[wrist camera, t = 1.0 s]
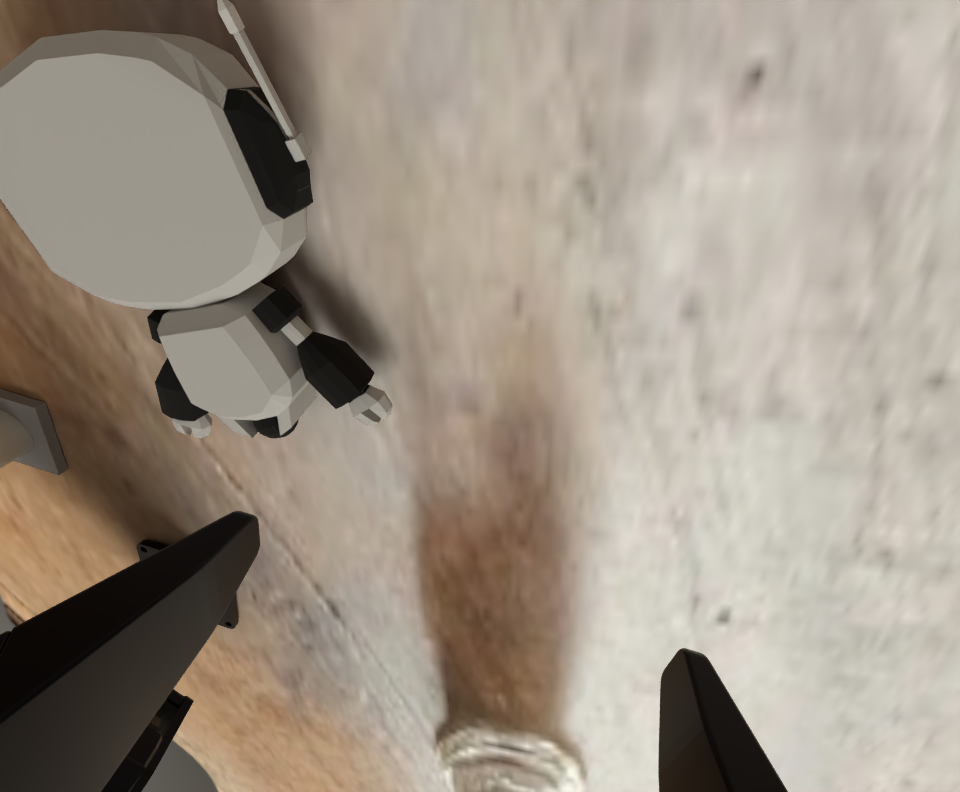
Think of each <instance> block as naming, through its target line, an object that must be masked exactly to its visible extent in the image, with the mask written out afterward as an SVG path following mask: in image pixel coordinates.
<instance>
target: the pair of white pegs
mask: <svg viewBox="0 0 960 792" xmlns="http://www.w3.org/2000/svg"><path fill="white" fill-rule="evenodd" d="M12 461H16V462H19V463H22V464H25V465H29V466H32V467H35V468H38V469H41V470H44V471H48V472H51V473H54V474H57V475H60V474H61V473H63V472H64V471H66V470H67V469H68V468H67V465H66V462H65V459H64V456H63V453H62V450H61V447H60V444H59V441H58V438H57V435H56V432H55V429H54V426H53V423H52V420H51V417H50V414H49V412H48V409H47V406H46V403H45V402H42V401H38V400H35V399H32V398H29V397H25V396H22V395H19V394H16V393H12V392H9V391H6V390H3V389H0V468H2V467H4V466H5V465H7V464H8V463H10V462H12Z"/></svg>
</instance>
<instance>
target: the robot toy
mask: <svg viewBox="0 0 960 792" xmlns="http://www.w3.org/2000/svg"><path fill="white" fill-rule="evenodd" d="M217 4H218V12H219V14H220V16H221V18H222V20H223V22H224V24H225V26H226V27H227V29H228V31H229V33H230V34H233V35H234V37H235V39H236V41H237V43H238V45H239V47H240V49H241V51H242V52H243V54H244V56H245V58H246V60H247V62H248V64H249V66H250V67H251V69H252V71H253V73H254V75H255V77H256V79H257V81H258V83H259V84H260V86H261V87H259V86H258V85H257V84H256V82H255V81H254V80H253V79H252V78H251V76H250V75H249V74H248V73H247V72H246V70H245V69H244V68H243V67H242V66H241V65H240V63H239V62H238V61H237V60H236V59H235V57H234V56H233V55H232V54H230V53H228V52H226V51H224V50H222V49H220V48H218V47H216V46H214V45H212V44H210V43H208V42H206V41H204V40H202V39H200V38H195V37H191V36H186V35H181V34H164V33H147V32H129V31H111V30H97V31H89V32H81V33H73V34H65V35H57V36H49V37H41V38H39V39H38V40H37V41H36V42H34V43H33V44H32V45H31V46H29V47H28V48H27V49H26V50H24V51H23V52H22V53H21V54H19V55H18V56H17V57H16V58H14V59H13V60H12V61H11V62H9V63H8V64H7V65H6V66H4V67H3V68H2V69H1V70H0V200H1V201H2V203H3V204H4V206H5V207H6V208H7V210H8V211H9V213H10V214H11V215H12V217H13V218H14V220H15V221H16V222H17V224H18V225H19V227H20V228H21V229H22V231H23V232H24V234H25V235H26V236H27V238H28V239H29V241H30V242H31V243H32V245H33V246H34V248H35V249H36V250H37V252H38V253H39V255H40V256H41V257H42V258H43V260H44V261H45V262H46V264H47V265H48V267H49V268H50V269H51V271H52V272H54V273H55V274H57V275H59V276H61V277H62V278H64V279H66V280H67V281H69V282H71V283H73V284H74V285H76V286H78V287H80V288H81V289H83V290H85V291H87V292H89V293H90V294H92V295H95V296H97V297H100V298H102V299H105V300H107V301H109V302H112V303H116V304H120V305H124V306H129V307H136V308H143V309H151V310H154V311H153V312H152V313H151V314H150V315H149V316H148V317H147V318H148V323H149V327H150V331H151V335H152V339H153V340H155V341H157V342H158V343H161V344H162V345H163V348H164V350H165V353H166V355H167V357H168V358H167V360H166V362H165V363H164V365H163V367H162V369H161V371H160V373H159V375H158V377H157V379H156V381H155V384H156V389H157V393H158V397H159V401H160V405H161V409H162V412H163V413H164V414H166V415H167V416H169V417H170V418H172V420H171V421H172V422H173V424H174V426H175V428H176V430H177V431H179V432H181V433H183V434H187V435H190V434H191V432H193V434H194V437H197V438H203V437H205V436H208V435H210V431H211V426H212V419H211V417H210V416H209V415H208V414H207V413H209V412H210V413H212V414H214V415H216V416H218V417H219V418H220V419H221V420H222V421H223V422H224V423H225V424H226V425H227V426H228V427H229V428H230V429H231V430H232V431H233V432H235V433H238V434H241V435H244V436H248V437H251V438H253V437H254V436H255V434H256V433H257V432H259V433H260V434H262V435H264V436H267V437H269V438H280V437H285V436H287V435H289V434H290V433H291V432H292V431H294V429H295V427H296V425H297V423H298V420H299V418H300V417H301V415H302V414H303V413H304V412H305V410H306V409H307V408H308V407H309V405H310V404H311V403H312V402H313V401H314V399H315V398H316V390H317V391H318V392H319V393H320V394H321V395H322V396H323V397H324V398H325V399H326V400H327V401H328V402H329V403H330V404H331V405H332V406H333V407H334V408H335V409H337V408H339V407H341V406H343V405H345V404H346V403H349V406H350V409H351V411H352V414H353V417H354V418H356V419H357V420H359V421H360V422H362V423H364V424H365V425H376V424H377V423H379V421H380V419H383V420H384V419H386V418H388V417H389V415H390V414H391V411H392V403H391V401H390V400H389V398H388V397H387V395H386V393H385V392H384V391H382V390H380V389H377V388H375V387H373V386H370V385H367V384H368V383H369V382H370V381H371V379H372V377H373V375H374V371H373V370H372V369H371V368H370V367H369V366H368V365H367V364H366V363H365V362H364V361H363V360H362V359H361V358H360V357H359V356H358V354H357V353H356V352H355V351H354V350H353V349H352V348H351V347H350V346H349V345H348V344H347V343H346V342H344V341H341V340H338V339H335V338H333V337H330V336H327V335H324V334H320V333H317V332H313V331H312V330H311V329H310V328H309V327H308V326H307V325H306V324H305V323H304V322H303V321H302V320H301V319H300V318H299V317H298V316H297V315H298V314H299V313H301V308H302V305H301V304H300V303H299V302H298V301H297V300H296V298H295V297H294V296H293V295H292V294H291V293H290V292H289V291H288V290H287V289H286V288H285V287H284V286H283V285H282V286H281V287H279V288H278V289H276V290H275V289H273V288H271V287H269V286H267V285H265V284H263V283H261V282H259V281H261V280H262V279H264V278H265V277H267V276H268V275H270V274H271V273H273V272H274V271H275V270H277V269H278V268H280V267H281V266H283V265H284V264H286V263H287V262H288V261H289V260H290V259H291V258H293V257H294V256H295V254H296V253H297V251H298V249H299V248H300V246H301V245H302V243H303V241H304V240H305V238H306V237H307V206H308V205H310V204H311V203H312V202H313V198H312V191H311V184H310V170H309V167H308V165H307V162H306V158H307V157H308V156H309V155H310V153H311V150H310V148H309V146H308V144H307V142H306V140H305V138H304V136H303V134H302V132H299V133H297V132H296V130H295V128H294V126H293V124H292V123H291V121H290V119H289V117H288V115H287V113H286V111H285V109H284V107H283V105H282V103H281V101H280V99H279V97H278V95H277V93H276V91H275V90H274V88H273V86H272V84H271V82H270V80H269V78H268V76H267V74H266V72H265V70H264V68H263V66H262V64H261V62H260V60H259V58H258V57H257V55H256V53H255V51H254V49H253V47H252V45H251V43H250V41H249V39H248V37H247V35H246V33H245V31H244V29H243V28H245V26H244V24H243V22H242V20H241V18H240V16H239V14H238V13H237V11H236V9H235V7H234V5H233V4H232V3H231V2H230V1H229V0H217Z"/></svg>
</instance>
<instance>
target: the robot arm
mask: <svg viewBox="0 0 960 792" xmlns="http://www.w3.org/2000/svg"><path fill="white" fill-rule="evenodd" d="M259 547H260V536H259V524H258V519H257V517H256V516H254V515H251V514H248V513H245V512H242V511H235V512H232V513H230V514H228V515H226V516H224V517H222V518H220V519H218V520H217V521H215V522H213V523H211V524H209V525H207V526H205V527H203V528H201V529H200V530H198V531H196V532H194V533H192V534H190V535H188V536H186V537H184V538H182V539H181V540H179V541H177V542H175V543H173V544H171V545H169V546H164V545H161V544H158V543H155V542H152V541H149V540H142V541H141V542H140V543H139V544H138V545H137V550H138V554H139V558H140V561H139V562H137V563H135V564H133V565H131V566H129V567H128V568H126V569H124V570H122V571H120V572H118V573H116V574H114V575H112V576H111V577H109V578H107V579H105V580H103V581H101V582H99V583H97V584H95V585H93V586H92V587H90V588H88V589H86V590H84V591H82V592H80V593H78V594H76V595H75V596H73V597H71V598H69V599H67V600H65V601H63V602H61V603H59V604H57V605H56V606H54V607H52V608H50V609H48V610H46V611H44V612H42V613H40V614H39V615H37V616H35V617H33V618H31V619H29V620H27V621H25V622H23V623H21V624H20V625H18V626H16V627H14V628H13V629H12V631H6V632H4V633H2V634H0V792H141V791H142V790H143V788H144V787H145V785H146V784H147V782H148V781H149V779H150V777H151V776H152V774H153V773H154V771H155V769H156V767H157V766H158V764H159V762H160V760H161V758H162V757H163V755H164V753H165V751H166V749H167V748H168V746H169V744H170V742H171V741H172V739H173V737H174V735H175V734H176V732H177V730H178V728H179V726H180V725H181V723H182V721H183V719H184V717H185V716H186V714H187V712H188V710H189V709H190V707H191V705H192V703H193V700H192V699H191V698H189V697H188V696H183V695H181V694H180V693H178V692H177V691H175V690H174V689H173V688H174V687H175V686H176V684H177V683H178V681H179V680H180V678H181V677H182V676H183V674H184V673H185V671H186V670H187V668H188V667H189V666H190V664H191V663H192V661H193V660H194V659H195V657H196V656H197V654H198V653H199V651H200V650H201V649H202V647H203V646H204V644H205V643H206V641H207V640H208V639H209V637H210V636H211V634H212V633H213V631H214V630H215V628H216V626H217V625H221V626H224V627H227V628H230V629H234V628H235V627H236V625H237V624H238V622H239V621H238V612H237V603H236V594H235V593H236V591H237V590H238V588H239V586H240V584H241V582H242V581H243V579H244V577H245V575H246V574H247V572H248V570H249V568H250V566H251V565H252V563H253V561H254V559H255V558H256V556H257V554H258V551H259ZM659 792H788V791H787V789H786V788H785V786H784V784H783V783H782V781H781V779H780V778H779V776H778V774H777V773H776V771H775V769H774V768H773V766H772V764H771V763H770V761H769V759H768V758H767V756H766V754H765V753H764V751H763V749H762V748H761V746H760V744H759V743H758V741H757V739H756V738H755V736H754V734H753V733H752V731H751V729H750V728H749V726H748V724H747V723H746V721H745V719H744V718H743V716H742V714H741V713H740V711H739V709H738V708H737V706H736V704H735V703H734V701H733V699H732V698H731V696H730V694H729V693H728V691H727V689H726V688H725V686H724V684H723V683H722V681H721V679H720V678H719V676H718V674H717V673H716V671H715V669H714V668H713V666H712V664H711V663H710V661H709V660H708V658H707V657H706V656H705V655H703V654H702V653H699V652H696V651H692V650H689V649H686V648H682V649H680V650H679V651H678V652H677V653H676V655H675V656H674V657H673V659H672V660H671V661H670V663H669V664H668V665H667V667H666V668H665V670H664V671H663V674H662V677H661V689H660V727H659Z"/></svg>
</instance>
